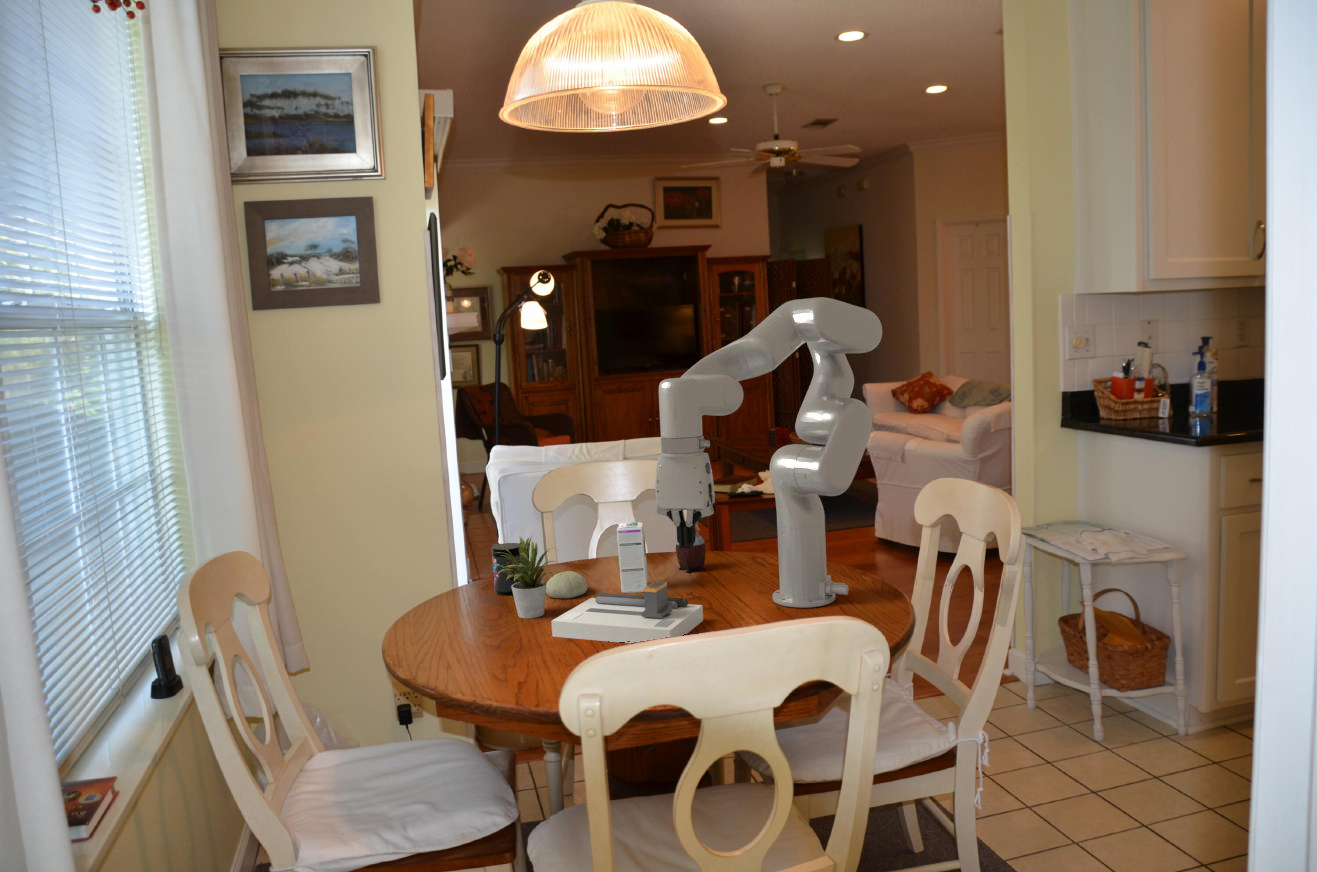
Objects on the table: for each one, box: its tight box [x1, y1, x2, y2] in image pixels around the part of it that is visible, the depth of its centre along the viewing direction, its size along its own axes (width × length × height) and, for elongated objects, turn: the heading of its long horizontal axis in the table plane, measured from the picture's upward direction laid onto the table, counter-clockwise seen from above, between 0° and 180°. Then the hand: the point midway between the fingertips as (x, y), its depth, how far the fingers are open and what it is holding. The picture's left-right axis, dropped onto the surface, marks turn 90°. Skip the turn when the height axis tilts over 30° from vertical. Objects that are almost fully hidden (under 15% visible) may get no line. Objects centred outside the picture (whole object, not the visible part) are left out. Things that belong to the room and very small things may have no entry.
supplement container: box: [491, 542, 523, 596], centre depth 207 cm, size 7×7×10 cm
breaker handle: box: [641, 580, 672, 618], centre depth 173 cm, size 4×5×5 cm
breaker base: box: [550, 592, 704, 644], centre depth 176 cm, size 24×16×5 cm, turn 66°
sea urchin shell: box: [546, 570, 588, 600], centre depth 203 cm, size 9×8×8 cm
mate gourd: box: [675, 534, 707, 574], centre depth 217 cm, size 8×8×15 cm
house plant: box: [492, 536, 556, 619], centre depth 189 cm, size 14×14×16 cm
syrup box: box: [616, 521, 649, 594], centre depth 203 cm, size 6×6×14 cm
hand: (686, 546), depth 169 cm, fingers closed
